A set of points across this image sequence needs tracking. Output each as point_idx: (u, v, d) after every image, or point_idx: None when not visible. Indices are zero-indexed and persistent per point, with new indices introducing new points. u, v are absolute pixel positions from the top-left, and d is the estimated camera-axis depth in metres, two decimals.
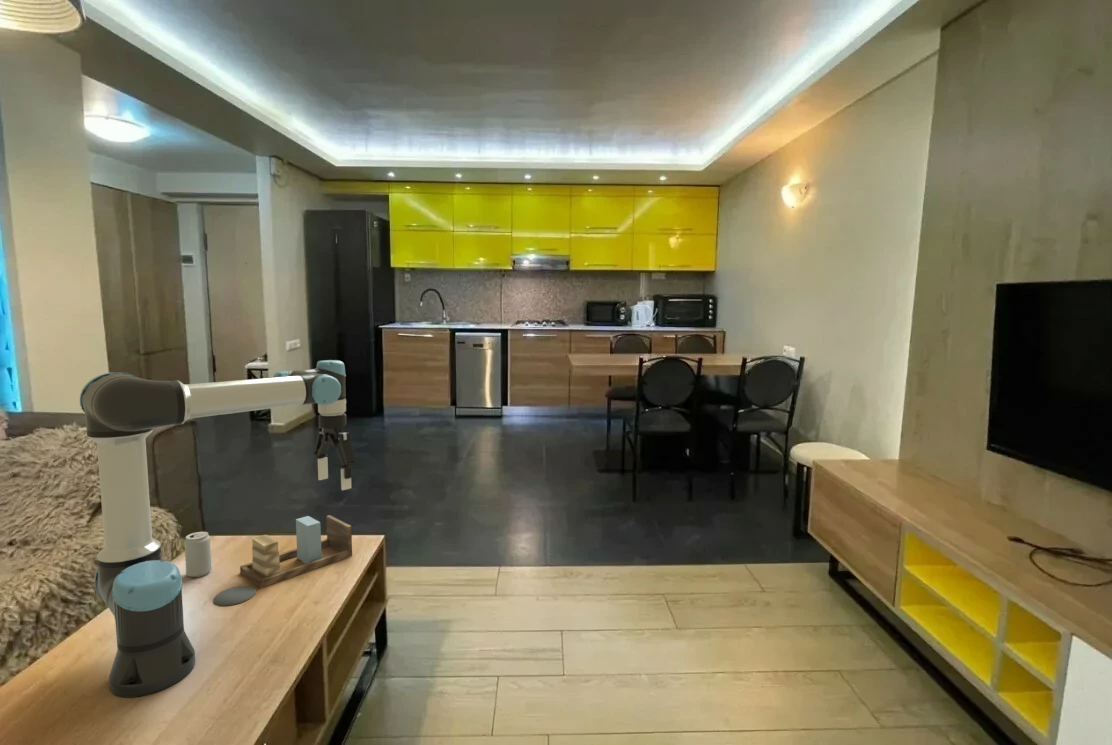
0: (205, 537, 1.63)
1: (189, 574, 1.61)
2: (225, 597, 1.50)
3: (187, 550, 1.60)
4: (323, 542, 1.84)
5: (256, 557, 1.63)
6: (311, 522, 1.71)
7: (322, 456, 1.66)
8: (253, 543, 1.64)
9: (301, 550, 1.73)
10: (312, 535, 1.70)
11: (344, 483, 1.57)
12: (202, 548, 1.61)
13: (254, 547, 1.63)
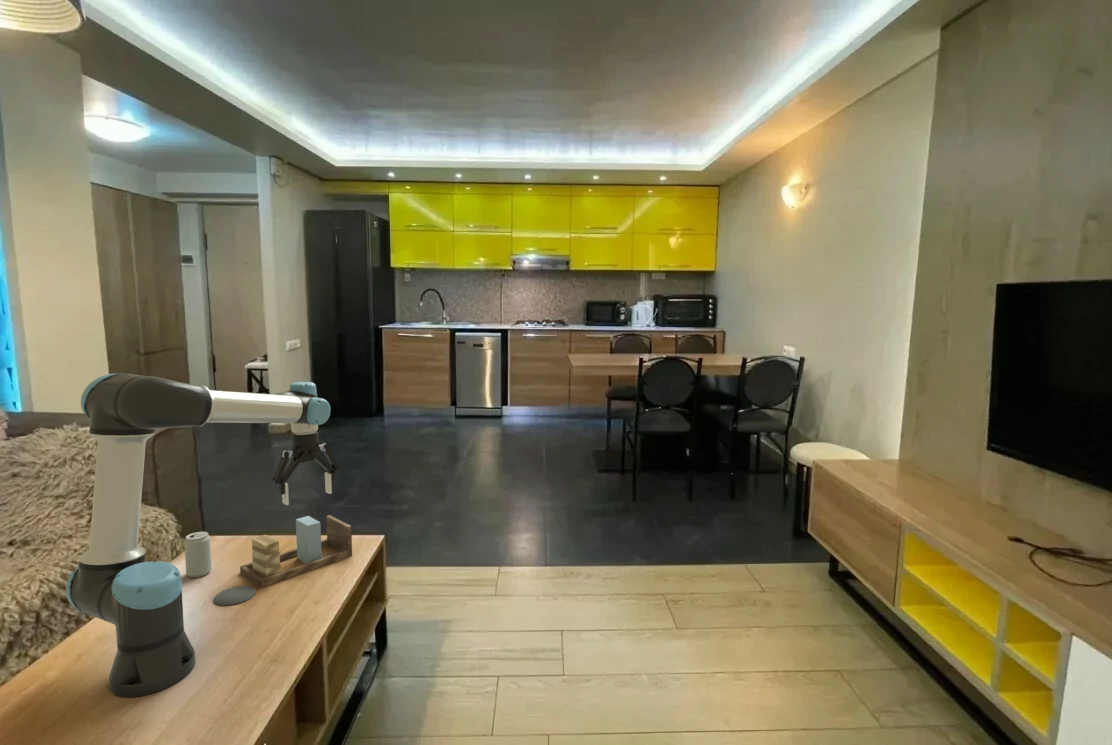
0: (205, 537, 1.63)
1: (189, 574, 1.61)
2: (225, 597, 1.50)
3: (187, 550, 1.60)
4: (323, 542, 1.84)
5: (256, 557, 1.63)
6: (311, 522, 1.71)
7: (329, 471, 1.77)
8: (253, 543, 1.63)
9: (301, 550, 1.73)
10: (312, 535, 1.70)
11: (283, 497, 1.67)
12: (202, 548, 1.61)
13: (254, 547, 1.63)
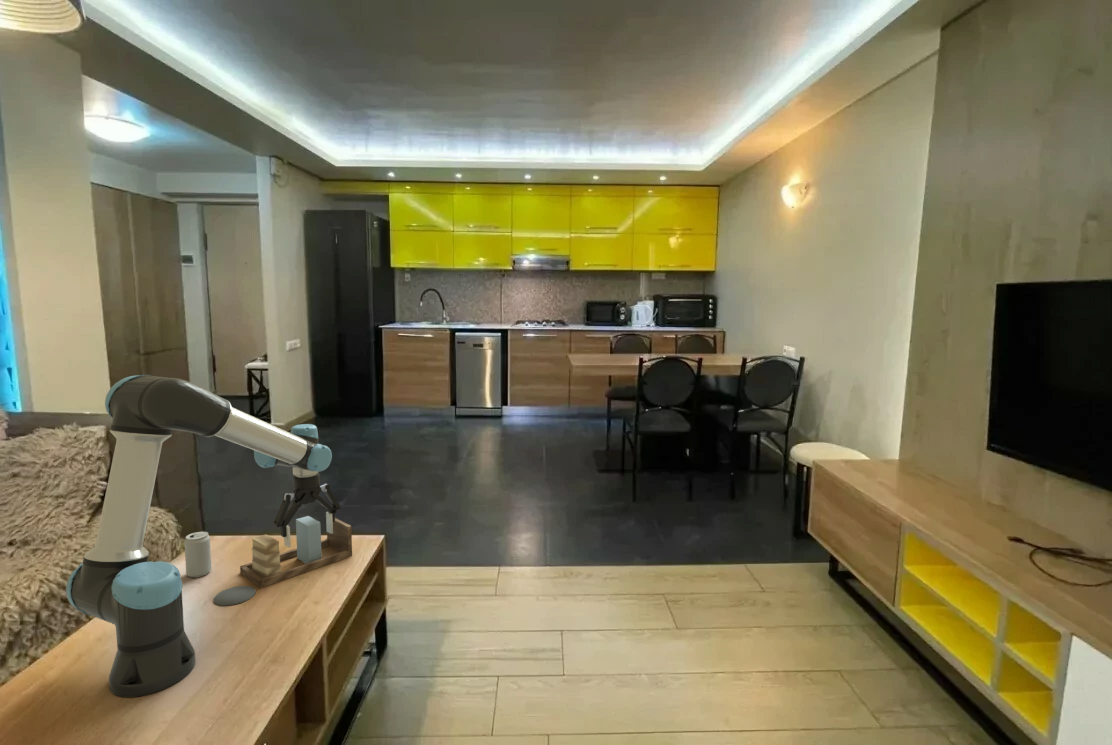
0: (205, 537, 1.63)
1: (189, 574, 1.61)
2: (225, 597, 1.50)
3: (187, 550, 1.60)
4: (323, 542, 1.84)
5: (256, 557, 1.63)
6: (311, 522, 1.71)
7: (330, 511, 1.78)
8: (253, 543, 1.64)
9: (301, 550, 1.73)
10: (312, 535, 1.70)
11: (284, 539, 1.68)
12: (202, 548, 1.61)
13: (254, 547, 1.63)
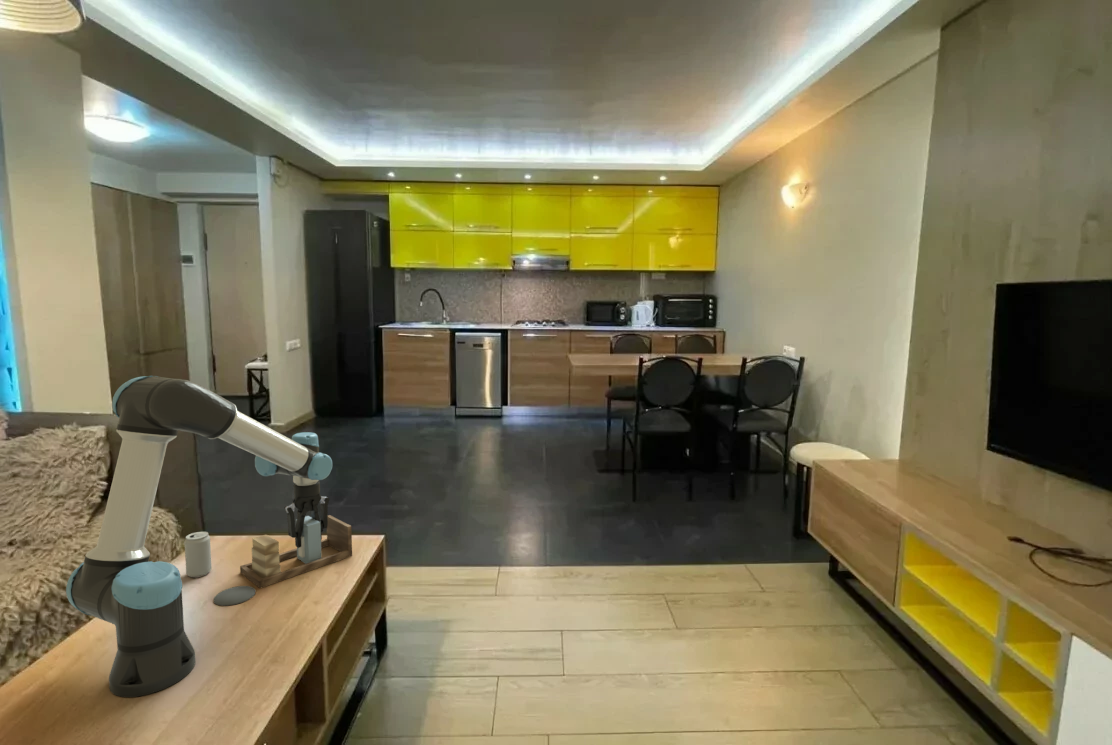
0: (205, 537, 1.63)
1: (189, 574, 1.61)
2: (225, 597, 1.50)
3: (187, 550, 1.60)
4: (323, 542, 1.84)
5: (256, 557, 1.63)
6: (311, 522, 1.71)
7: None
8: (253, 543, 1.64)
9: None
10: (312, 535, 1.70)
11: (299, 550, 1.72)
12: (202, 548, 1.61)
13: (254, 547, 1.63)
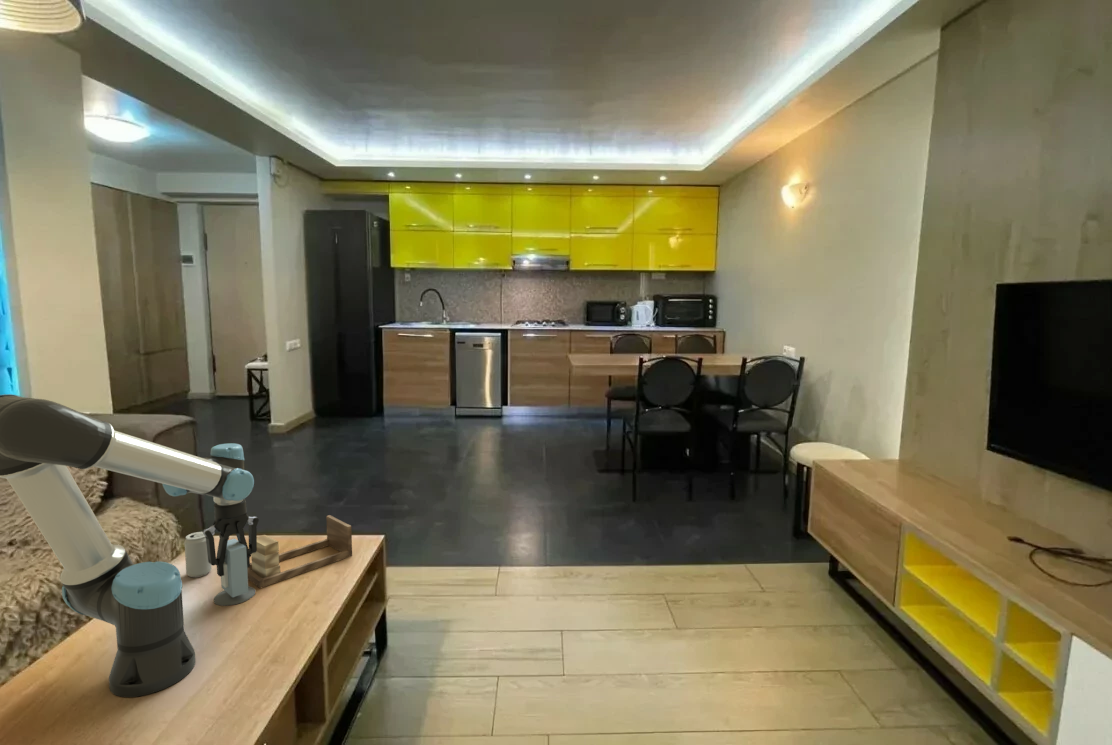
0: (205, 537, 1.63)
1: (189, 574, 1.61)
2: (225, 597, 1.50)
3: (187, 550, 1.60)
4: (323, 542, 1.84)
5: (255, 557, 1.63)
6: (235, 547, 1.49)
7: None
8: None
9: None
10: (236, 562, 1.48)
11: (222, 578, 1.50)
12: (202, 548, 1.61)
13: None
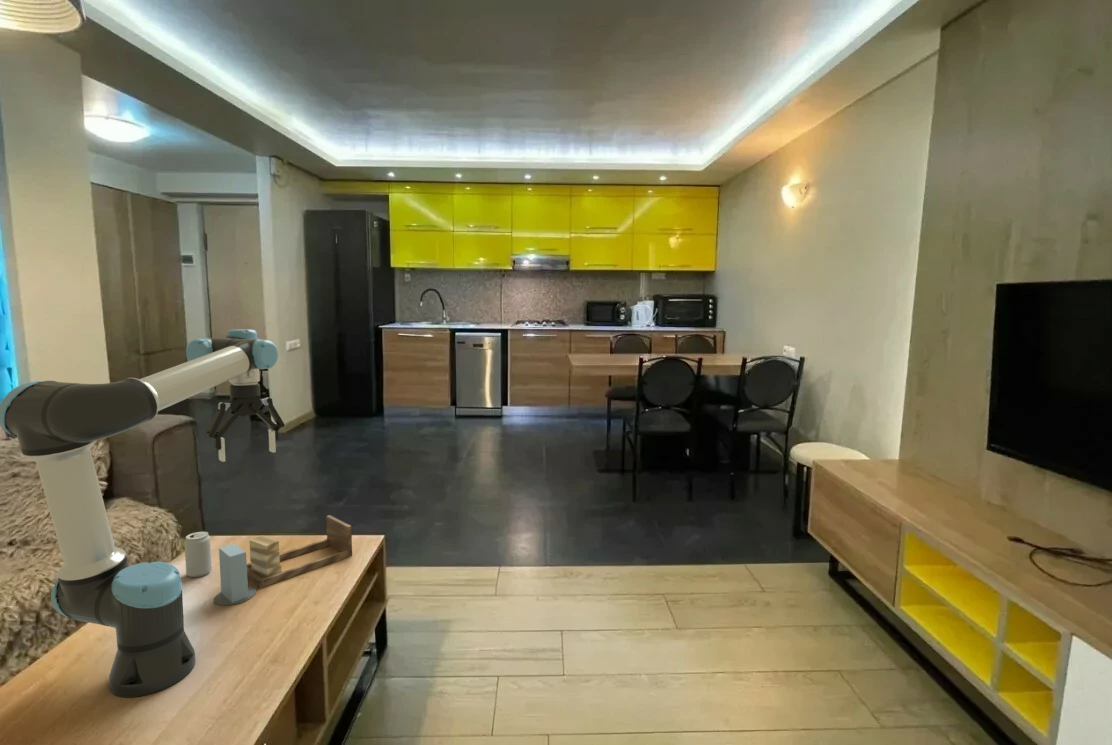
0: (205, 537, 1.63)
1: (189, 574, 1.61)
2: (225, 597, 1.50)
3: (187, 550, 1.60)
4: (323, 542, 1.84)
5: (255, 558, 1.63)
6: (235, 552, 1.49)
7: (273, 428, 1.63)
8: (251, 544, 1.63)
9: (224, 584, 1.50)
10: (236, 567, 1.48)
11: (219, 453, 1.54)
12: (202, 548, 1.61)
13: (252, 548, 1.63)
